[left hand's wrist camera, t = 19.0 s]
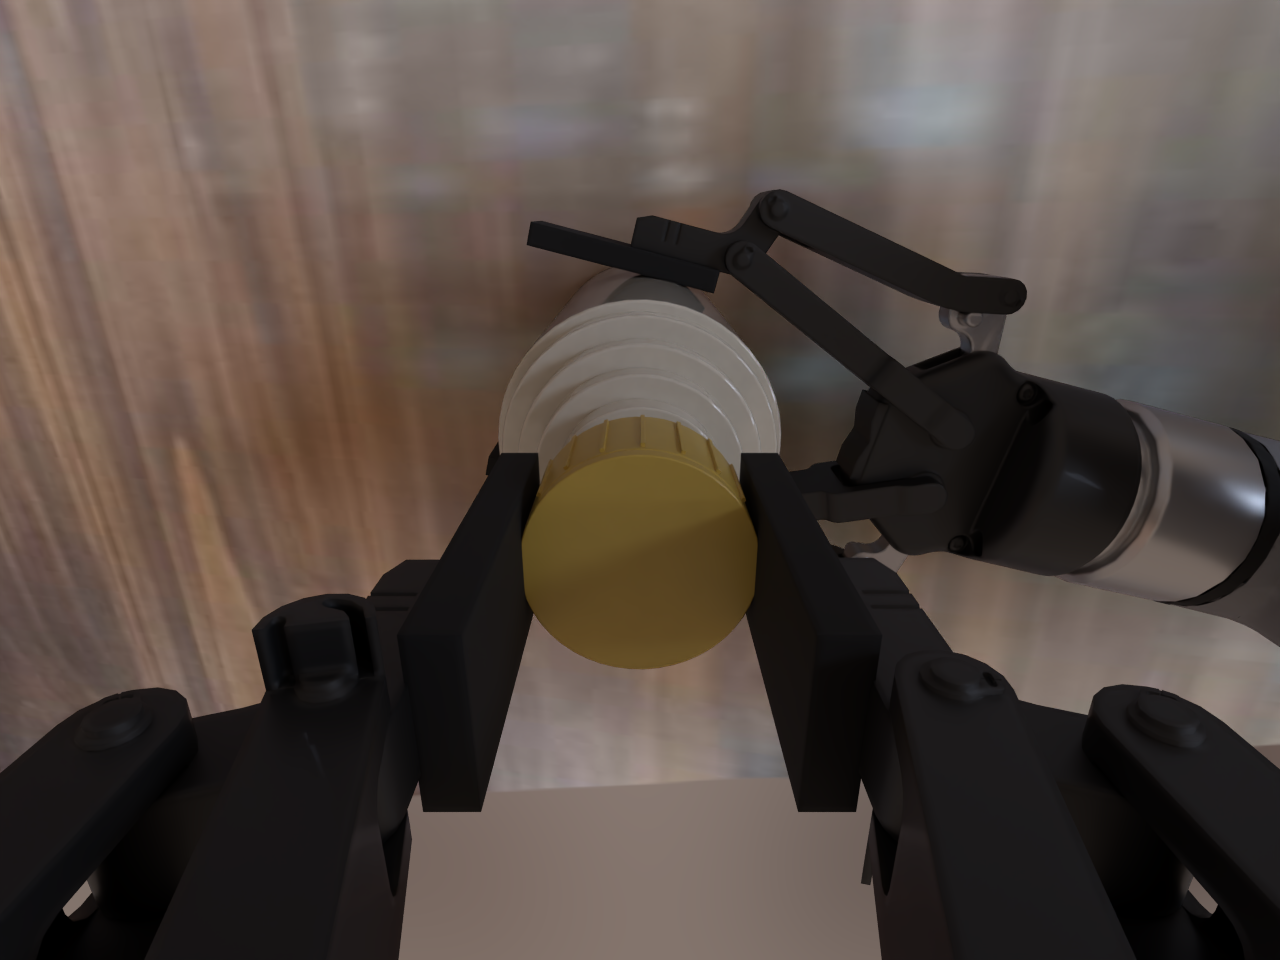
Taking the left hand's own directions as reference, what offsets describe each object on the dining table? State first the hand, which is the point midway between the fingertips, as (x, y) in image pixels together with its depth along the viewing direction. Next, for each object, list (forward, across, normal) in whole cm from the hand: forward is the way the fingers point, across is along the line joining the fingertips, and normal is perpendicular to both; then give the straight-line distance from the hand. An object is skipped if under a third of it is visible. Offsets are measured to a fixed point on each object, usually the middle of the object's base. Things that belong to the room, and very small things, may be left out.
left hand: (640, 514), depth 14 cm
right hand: (+12, +5, -1) cm, 13 cm away
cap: (-2, 0, 0) cm, 2 cm away
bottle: (+19, 0, 0) cm, 19 cm away
